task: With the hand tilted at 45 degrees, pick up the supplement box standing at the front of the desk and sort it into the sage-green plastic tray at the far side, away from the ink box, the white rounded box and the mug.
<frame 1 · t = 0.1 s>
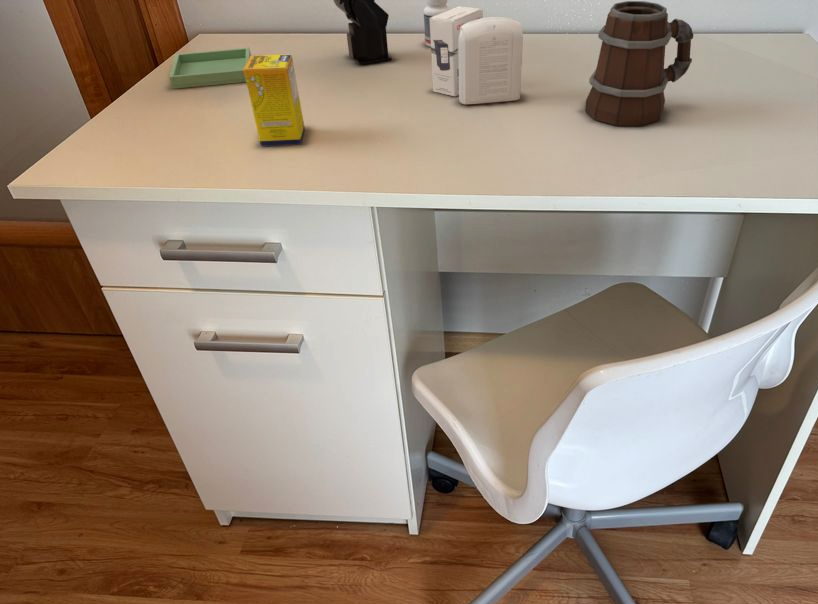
ink box: (458, 88, 114), on the table
supplement box: (283, 139, 99), on the table
white rounded box: (490, 101, 110), on the table
mug: (636, 112, 105), on the table
green tray: (214, 72, 122), on the table
pill bottle: (438, 45, 133), on the table
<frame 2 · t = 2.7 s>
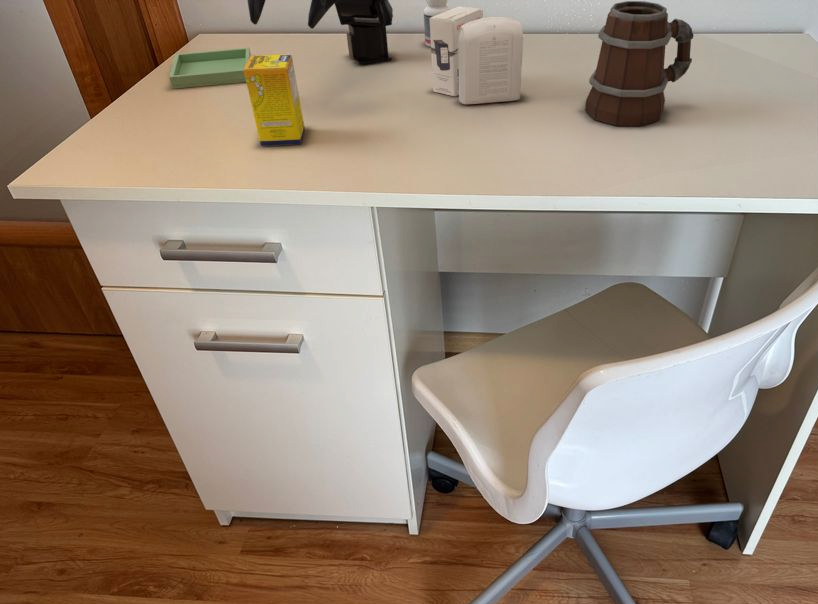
hand: (281, 25, 97), 13 cm above the table, tool tilted 45°, fingers open, 9 cm apart
nothing on the table moved.
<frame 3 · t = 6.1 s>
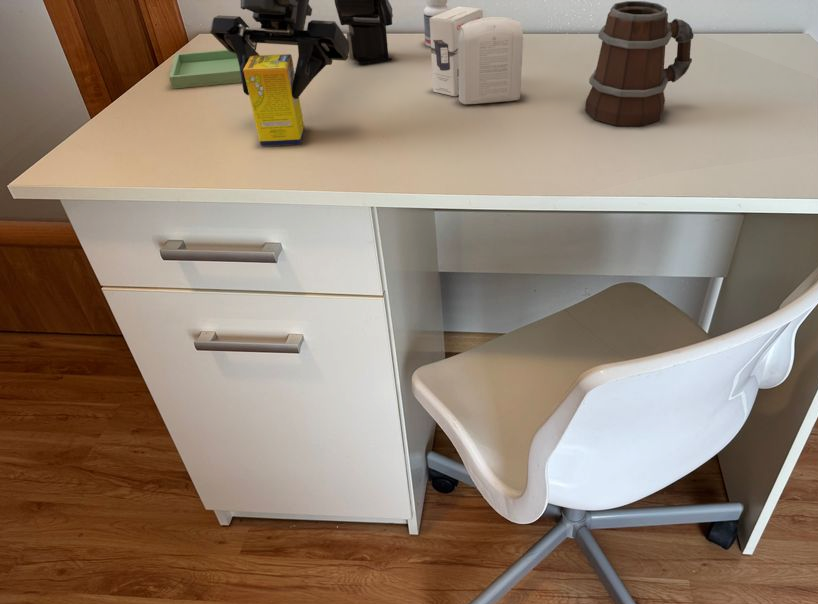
hand: (270, 95, 94), 7 cm above the table, tool tilted 45°, fingers closed on supplement box, 7 cm apart
supplement box: (283, 139, 99), on the table, touching gripper
everything else where it was.
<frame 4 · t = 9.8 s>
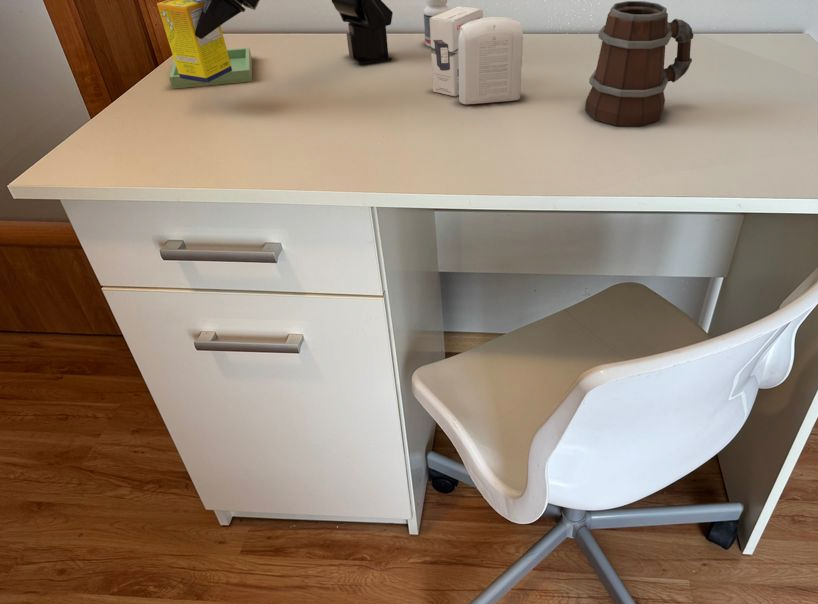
hand: (185, 32, 101), 12 cm above the table, tool tilted 45°, fingers closed on supplement box, 7 cm apart
supplement box: (206, 76, 106), point 5 cm above the table, touching gripper
everything else where it was.
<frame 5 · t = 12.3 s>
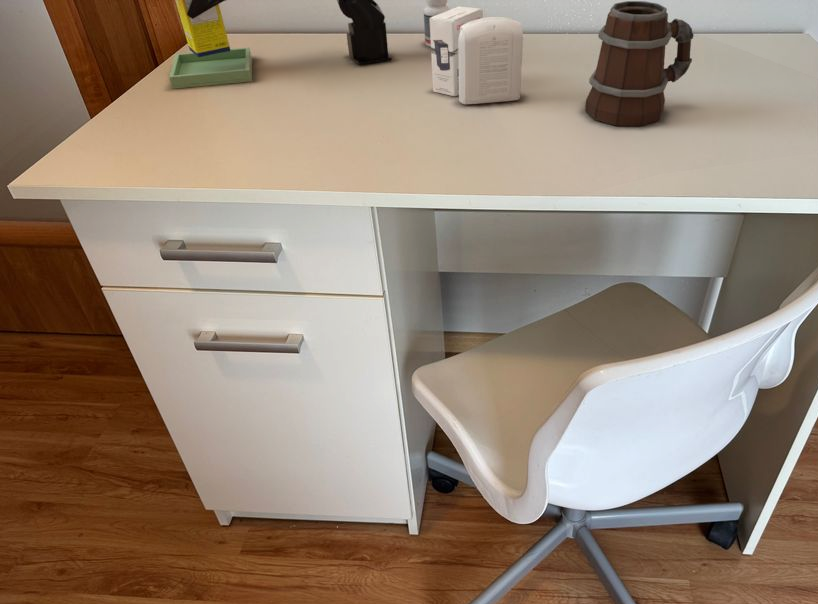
hand: (191, 11, 115), 10 cm above the table, tool tilted 45°, fingers closed on supplement box, 7 cm apart
supplement box: (210, 52, 120), point 4 cm above the table, touching gripper
everything else where it was.
when the fingers open (7 cm above the table, at t = 13.8 s): supplement box stays where it is, resting on green tray.
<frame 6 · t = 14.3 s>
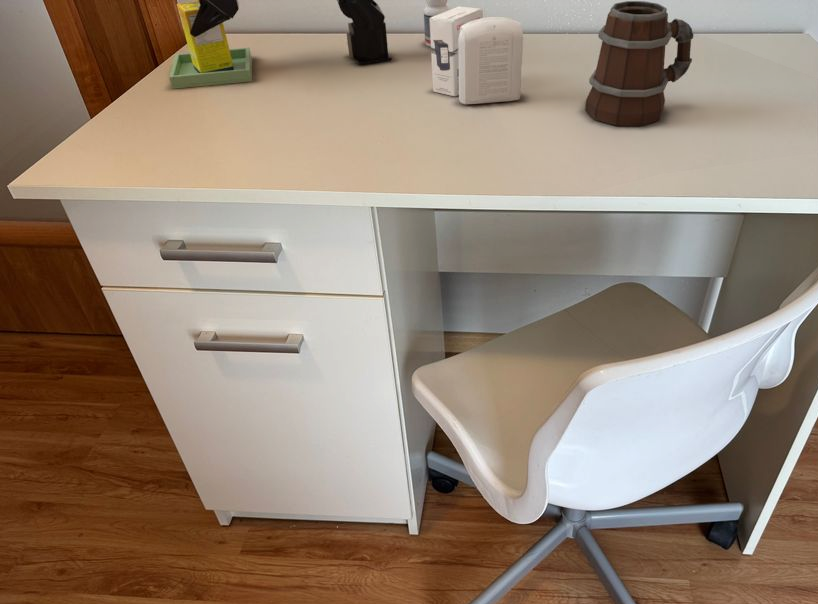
hand: (194, 27, 117), 8 cm above the table, tool tilted 45°, fingers open, 9 cm apart
supplement box: (214, 71, 122), resting on green tray
everything else where it was.
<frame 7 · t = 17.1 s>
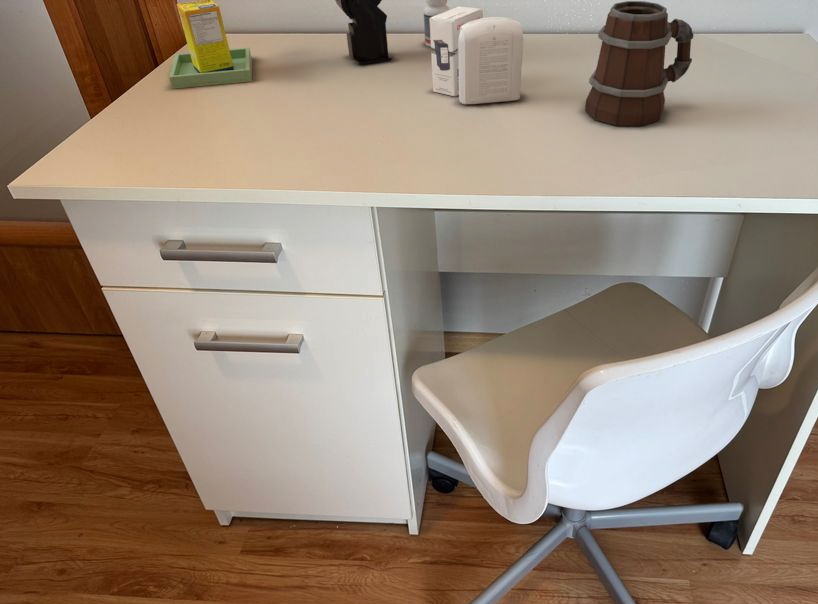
nothing on the table moved.
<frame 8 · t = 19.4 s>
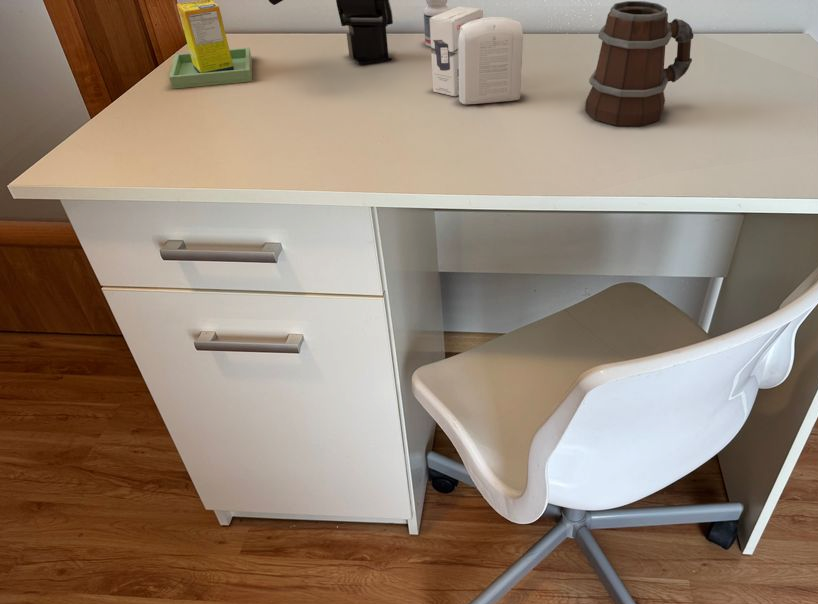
nothing on the table moved.
at the end: supplement box inside the target area in the green tray (0.1 cm from its centre), point 0.3 cm above the green tray's base; supplement box tilted 0°; the gripper is holding nothing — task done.
